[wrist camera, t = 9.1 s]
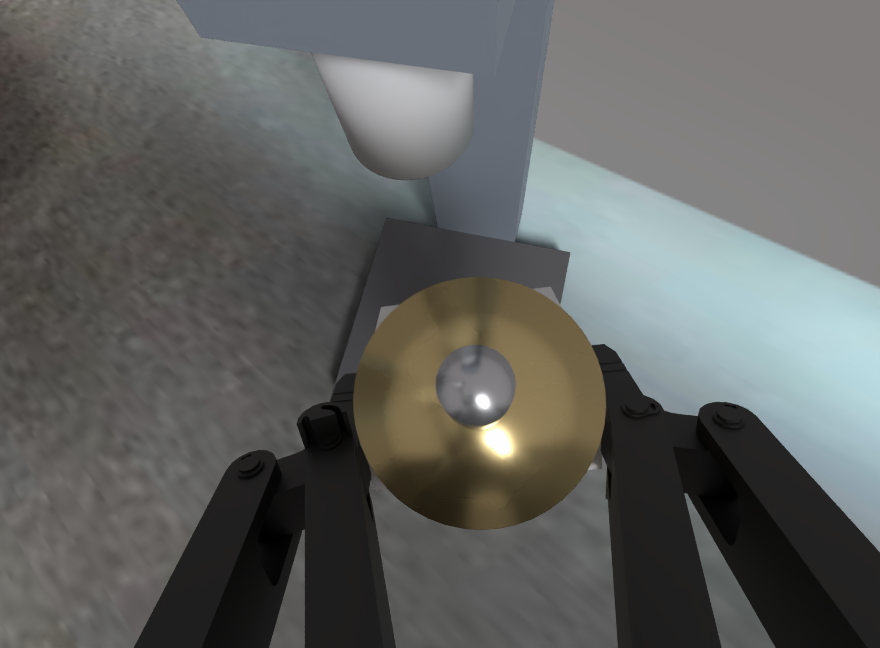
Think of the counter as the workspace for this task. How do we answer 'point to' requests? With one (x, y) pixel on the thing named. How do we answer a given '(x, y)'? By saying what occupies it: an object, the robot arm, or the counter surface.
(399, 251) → the press
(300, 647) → the counter surface
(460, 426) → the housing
